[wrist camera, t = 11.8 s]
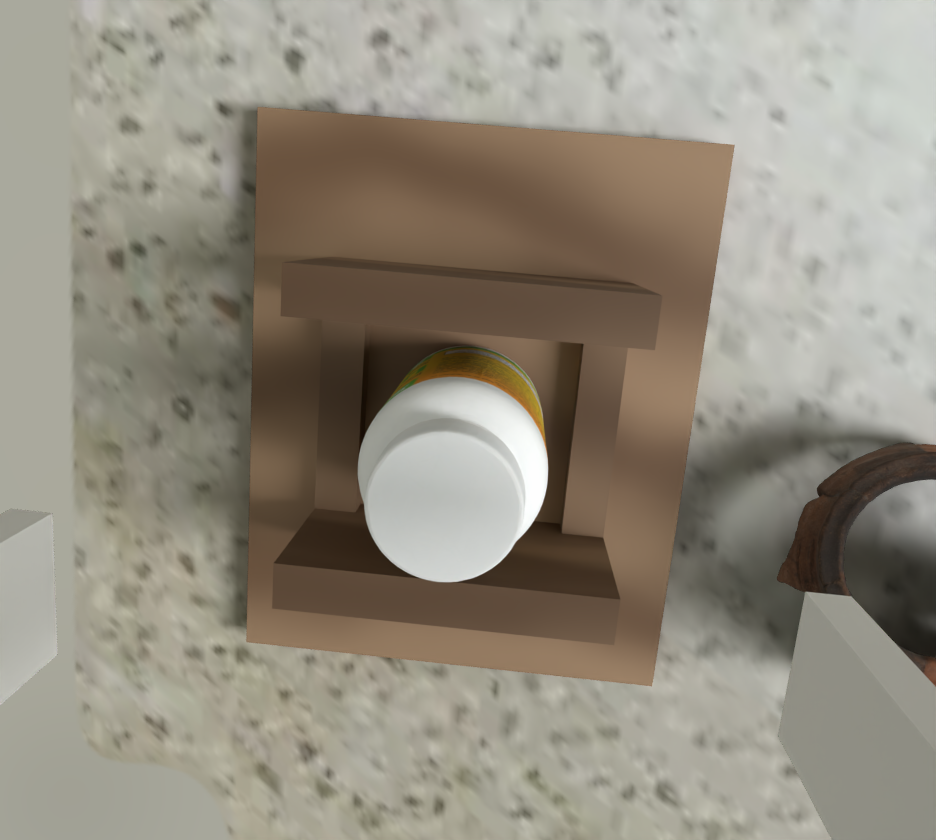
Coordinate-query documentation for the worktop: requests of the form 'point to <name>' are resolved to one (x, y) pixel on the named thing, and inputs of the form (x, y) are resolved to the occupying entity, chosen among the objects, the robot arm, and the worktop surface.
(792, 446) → the worktop surface
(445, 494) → the supplement bottle
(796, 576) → the pottery mug
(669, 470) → the wooden cradle tray
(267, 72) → the worktop surface
